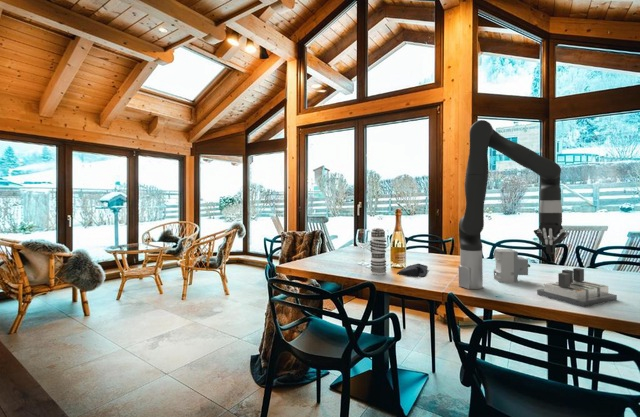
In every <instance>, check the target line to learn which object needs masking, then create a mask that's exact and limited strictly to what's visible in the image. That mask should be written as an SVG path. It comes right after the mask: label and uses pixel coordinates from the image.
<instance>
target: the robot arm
mask: <svg viewBox="0 0 640 417" xmlns="http://www.w3.org/2000/svg"><path fill="white" fill-rule="evenodd" d="M468 134H469V150H468V152H469V153H468V159H467V165H466V170H465V178H464V195H465V208H464V210H465V211H464V215H463V216H462V217H461V218H460V219H459V221H458V222H459V223H458V238H459V239H458V241H459V248H460V250H459V255H460V256H459V258H460V259H459V260H460V261H459V262H460V263H459V265H458V286H459V287H461V288H464V289H467V290H480V289H483V286H484V281H483V278H484V277H483V274H484V272H483V271H484V270H483V242H482V239H481V234H482V233H481V232H482V231H483V230H484V225H485V222H484V221H485V218H484V215H485V214H484V213H485V211H484V209H485V201H486V195H487V190H488V188H487V187H488V181H489V156H488V153H489V152H488V150H489V148H491V149H493V150H494V151H496V152H499V153H501V154H502V155H504V156H505V157H507V158H508V159H510V160H511V161H513V162H515V163H517V165H519V166H522V167H523V168H525V169H528V170H530V171H532V172H533V173H534V174H536V175H538V176H539V184H540V188H539V205H538V216H539V217H538V220H539V226H538V228H537V229H535V230H533V233H534V234H535V235H536V237H537V238H538V240H539V241H540V242H541V243H543V244H545V252H546V253H547V254H549V255H554V254H555V253H556V251H557V250H556V245H559V244H562V242H564V241H565V239H566V238H567V237H568V236H569V235H570V232H569V231H566V230H564V228H563V226H562V224H563V205H562V204H563V203H562V190H561V172H562V168H561V166H560V165H559V164H558V163H557V162H555V161H554V160H551V159H549V158H547V157H544V156H542V155H541V154H539V153H537V152H536V151H534V150H532V149H531V148H528V147H526V146H524V145H523V144H520V143H517V142H515V141H513V140H510V139H508V138H506V137H504V136H503V135H501V134H500V133H499V132H497V131H496V130H495V129H494V127H493V126H492V124H491V123H490V122H489V121H487V120H484V119H479V120H477V121H475V122H474V123H472V125H471V126H470V128H469V133H468Z"/></svg>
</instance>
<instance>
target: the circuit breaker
mask: <svg viewBox="0 0 640 417" xmlns="http://www.w3.org/2000/svg"><path fill="white" fill-rule="evenodd" d="M493 250H494V251H493V258H494V260H495V268H494V269H493V279H494V280H495V281H497V282H498V283H512V284H513V283H514V284H516V283H517V284H518V283H519V278H518V276H529V268H530V267H531V265H530V264H529V259H528V258H525V257H523V256H518V255H519V254H518V251H517V250H514V249H512V248H496V249H495V248H494V249H493Z"/></svg>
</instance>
